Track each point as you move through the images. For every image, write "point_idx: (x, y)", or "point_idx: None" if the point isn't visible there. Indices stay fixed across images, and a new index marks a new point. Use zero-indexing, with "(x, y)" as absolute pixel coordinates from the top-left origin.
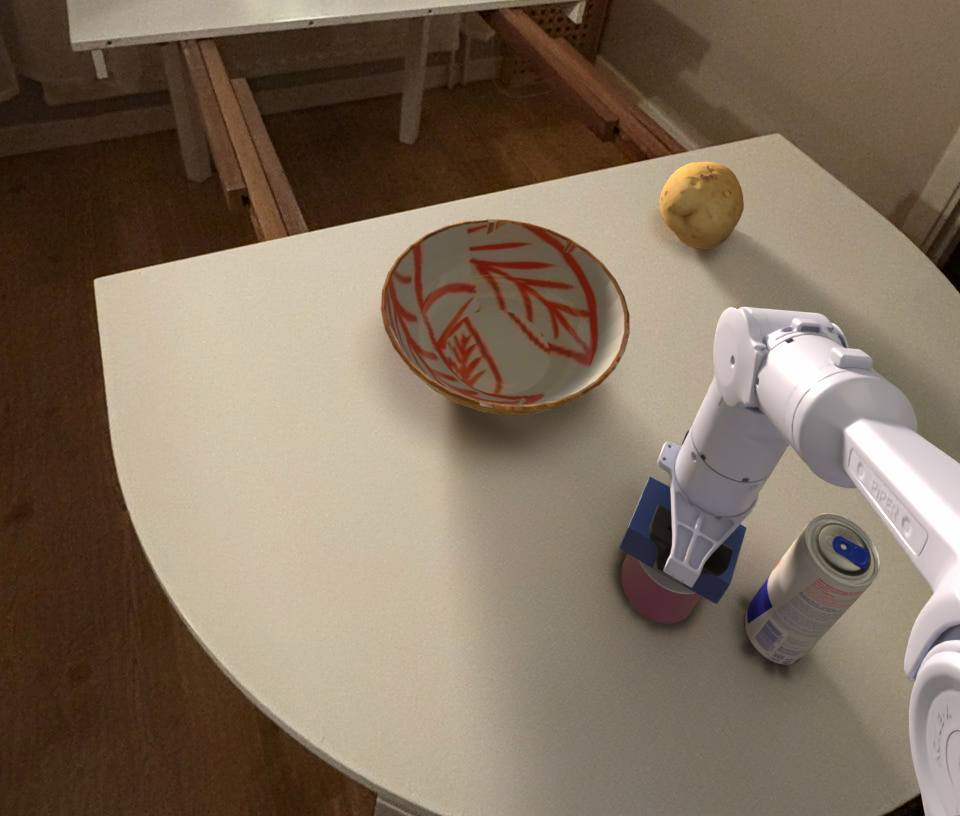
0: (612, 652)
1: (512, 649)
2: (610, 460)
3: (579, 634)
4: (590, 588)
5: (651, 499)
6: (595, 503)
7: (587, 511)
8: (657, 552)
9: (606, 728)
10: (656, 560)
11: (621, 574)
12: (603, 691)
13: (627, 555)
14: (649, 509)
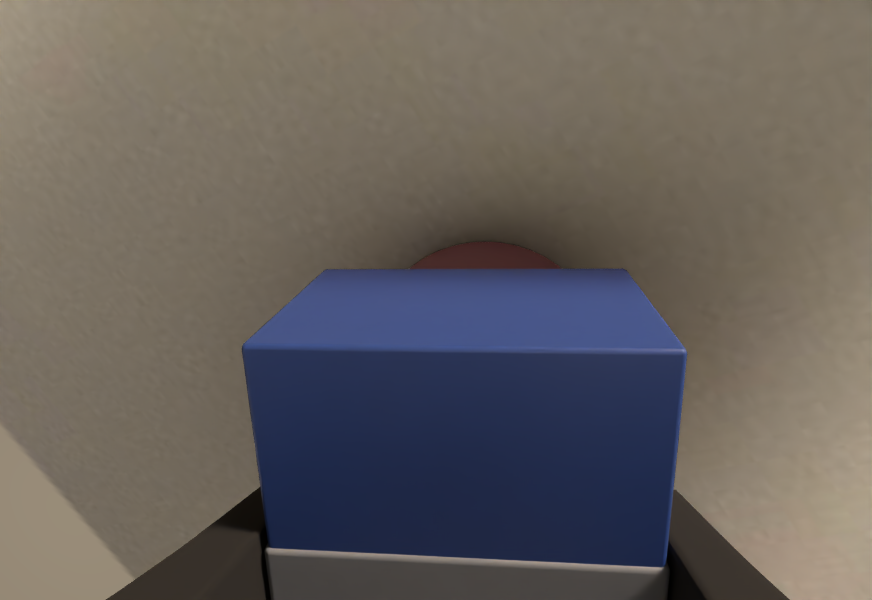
0: (238, 302)
1: (60, 49)
2: (855, 40)
3: (219, 205)
4: (351, 180)
5: (509, 416)
6: (637, 68)
7: (591, 55)
8: (141, 576)
9: (88, 348)
10: (245, 498)
11: (442, 249)
12: (147, 314)
13: (461, 262)
14: (436, 422)
